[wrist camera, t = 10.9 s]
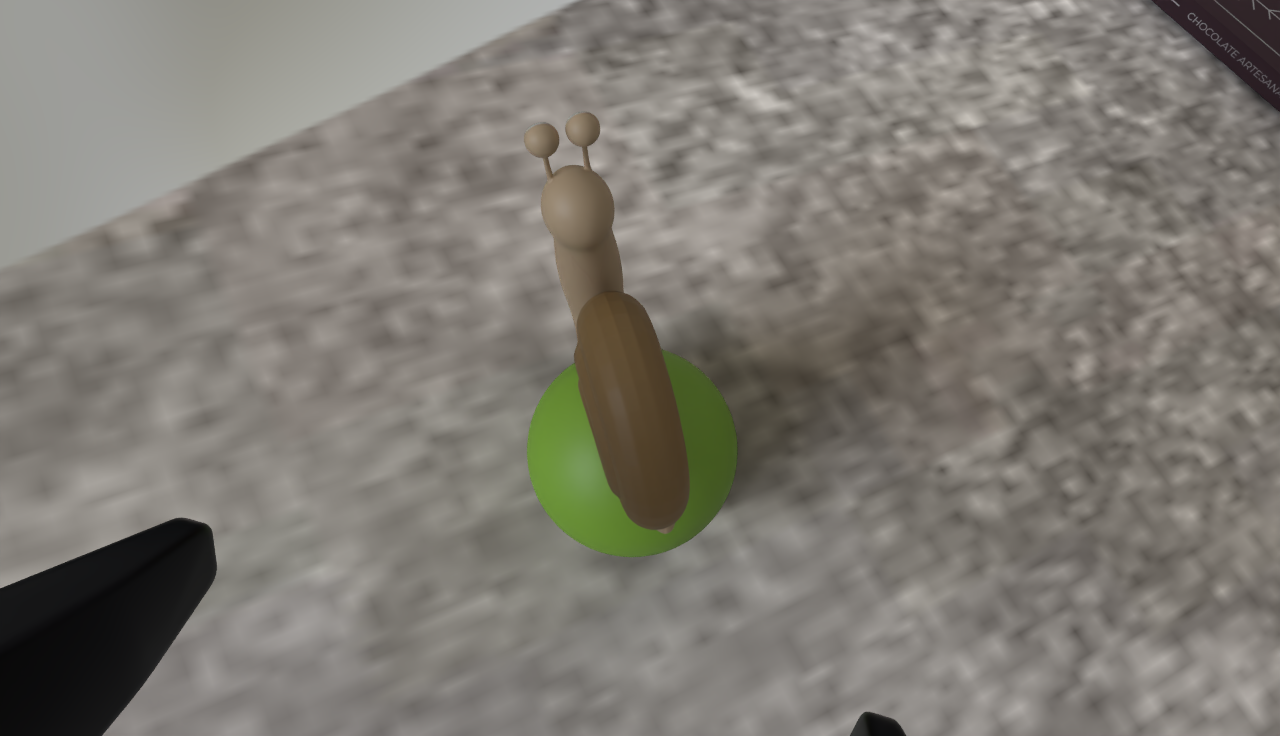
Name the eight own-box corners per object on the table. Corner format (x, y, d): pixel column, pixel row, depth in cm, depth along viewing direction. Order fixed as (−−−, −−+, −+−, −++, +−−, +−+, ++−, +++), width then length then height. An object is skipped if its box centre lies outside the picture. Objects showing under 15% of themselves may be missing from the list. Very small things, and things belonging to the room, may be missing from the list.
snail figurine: (680, 328, 23) (723, 64, 11) (750, 527, 21) (884, 453, 10) (512, 378, 22) (380, 154, 11) (570, 586, 21) (483, 582, 9)
